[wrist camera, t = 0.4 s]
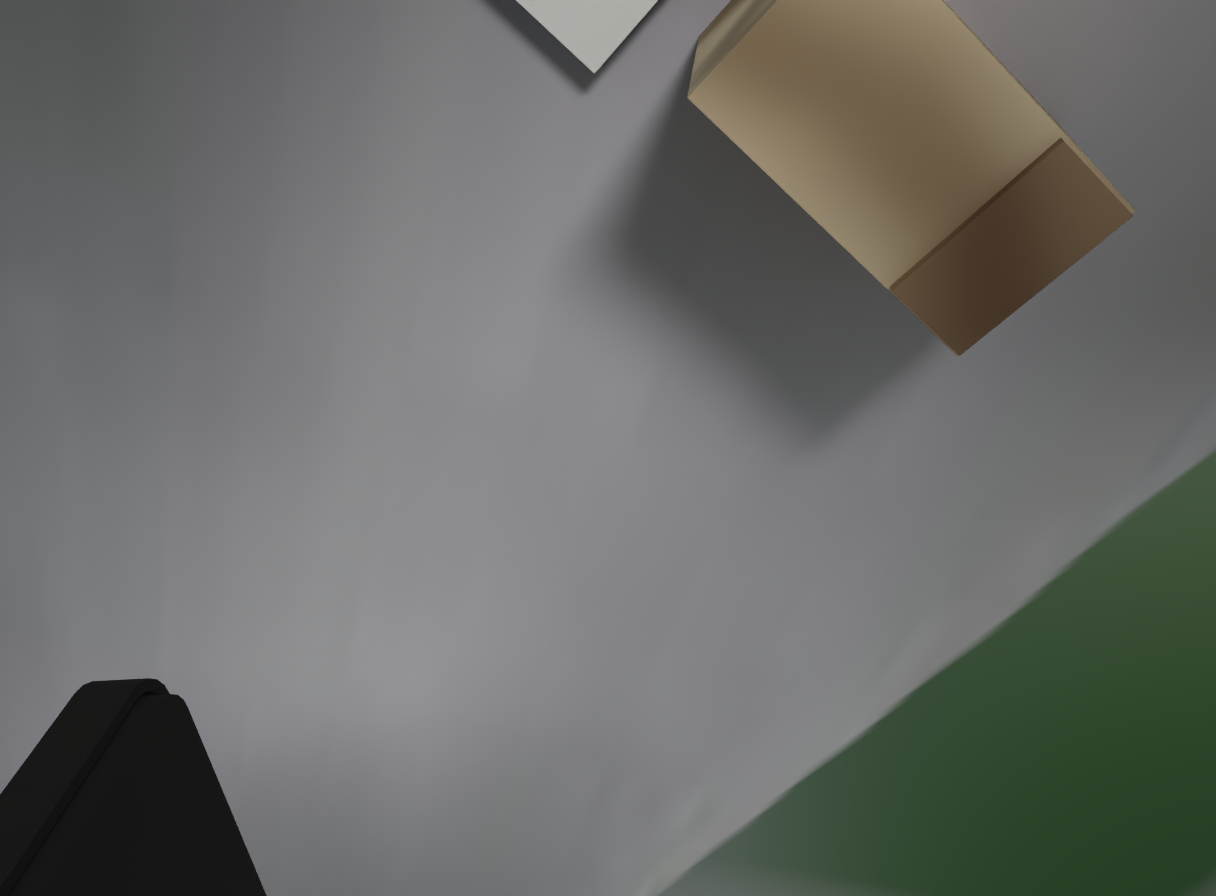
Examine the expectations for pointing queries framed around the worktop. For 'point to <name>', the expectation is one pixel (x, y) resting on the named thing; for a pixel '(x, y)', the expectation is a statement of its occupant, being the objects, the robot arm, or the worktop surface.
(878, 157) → the beige and brown box
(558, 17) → the arena
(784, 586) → the worktop surface
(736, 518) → the worktop surface
